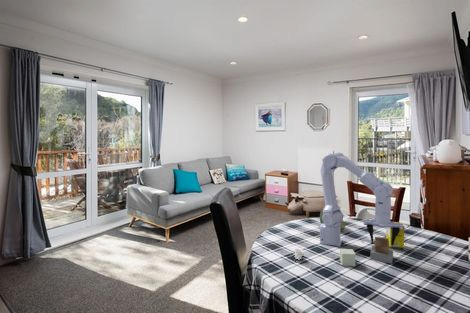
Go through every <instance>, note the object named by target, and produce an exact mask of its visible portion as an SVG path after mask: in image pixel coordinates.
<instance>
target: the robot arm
mask: <svg viewBox="0 0 470 313" xmlns="http://www.w3.org/2000/svg"><path fill="white" fill-rule="evenodd" d="M337 168H345V170H348V171H349V172H350V173H352V174H354V175H355V176H357V177H358V178H359V181H360V183H361V184H362V185H364V186H365V187H367V188H368V189H369V190H370V191H371V192H372V193H373V195H374V197H375V202H374V203H375V205H374V206H375V209H374V210H375V212H374V216H375V217H374V219H363V226H366V229H367V232H368V233H369V236H370V240H371V241H370V242H371V243H373V244H374V226H375V227H381V228H386V227H390V228H392V238H391V245H394V241H395V238H396V236H397V235H398V233H399V231H400V230H399V229H403V226H404V223H401V222H400V223H395V222H396V221H391V219H392V218H391V214H392V213H391V211H392V210H391V209H392V196H391V195H393V193H394V188H393V186H392V185H391V184H390V183H388V182H385V180H383V179H380V178H378V177H377V176H376V175H375V173H374V172H370V171H364V170H363V169H362V168H361V167H359V166H358V165H357V164H356V163H354V161H352V160H351V159H350V158H349V157H348V156H347V155H344V153H341V152H336V153H328V154H325V156H324V157H322V163H321V167H320V176H321V183H322V190H323V191H322V192H323V197H324V204H325V206H324V207H323V209H322V210H323V216H322V220H323V223H324V224H321V223H320V227H319V244H322V245H328V246H333V247H334V246H335V247H341V246H342V241H343V240H342V239H341V230H342V229H341V221H343V219H344V214H343V212H342V211H341V207H340V206H339V205H338V202H337V195H336V189H335V188H336V186H335V181H334V174H333V173H334V172H335V171H336V170H337Z"/></svg>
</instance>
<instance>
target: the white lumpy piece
mask: <svg viewBox="0 0 470 313" xmlns="http://www.w3.org/2000/svg"><path fill="white" fill-rule="evenodd" d="M294 255H295V256H294V258H295V260H296V259H298V260H297V261H301V260H302V258H303V257H302V256H304V252H303V250H302V249H299V248H298V249H295V250H294ZM300 259H301V260H300Z"/></svg>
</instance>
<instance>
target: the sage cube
mask: <svg viewBox="0 0 470 313" xmlns="http://www.w3.org/2000/svg"><path fill="white" fill-rule="evenodd" d="M339 262H340V264H341V266H346V267H356V253H355V251H354V250H353V249H351V248H339Z"/></svg>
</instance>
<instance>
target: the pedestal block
mask: <svg viewBox="0 0 470 313" xmlns="http://www.w3.org/2000/svg"><path fill="white" fill-rule="evenodd" d="M370 260H372V261H378V262H381V263H386V264H391V265H392V264H393V260H394V248H389V254H384V253H377V252H375V245H372V246H371V249H370Z"/></svg>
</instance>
